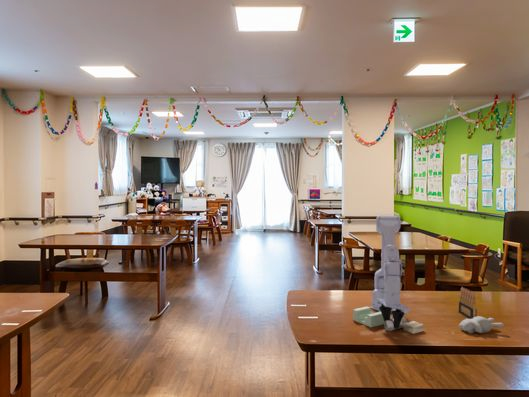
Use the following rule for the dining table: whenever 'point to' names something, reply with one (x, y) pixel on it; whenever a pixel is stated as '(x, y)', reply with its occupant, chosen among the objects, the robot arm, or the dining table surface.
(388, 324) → the axle
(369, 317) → the v block
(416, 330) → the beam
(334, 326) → the dining table surface
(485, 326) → the bunny figurine
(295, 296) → the dining table surface
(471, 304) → the ammunition clip
